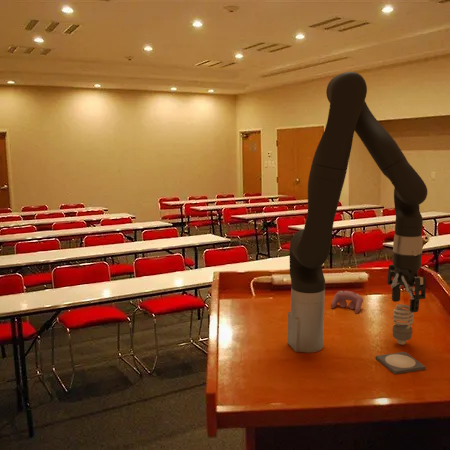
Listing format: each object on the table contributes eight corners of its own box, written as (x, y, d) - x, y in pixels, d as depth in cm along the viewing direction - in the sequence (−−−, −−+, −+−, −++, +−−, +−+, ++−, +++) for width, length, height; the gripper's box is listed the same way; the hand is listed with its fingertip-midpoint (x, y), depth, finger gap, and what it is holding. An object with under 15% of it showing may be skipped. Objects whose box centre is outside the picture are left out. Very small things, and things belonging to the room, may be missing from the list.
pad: (394, 374, 135) (394, 371, 135) (375, 358, 143) (375, 355, 143) (425, 369, 137) (425, 366, 137) (405, 354, 146) (405, 351, 145)
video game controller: (361, 315, 177) (365, 294, 179) (357, 313, 174) (362, 292, 175) (333, 309, 183) (337, 289, 184) (329, 307, 179) (333, 287, 180)
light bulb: (415, 344, 151) (418, 304, 149) (406, 351, 147) (409, 310, 145) (396, 338, 155) (399, 299, 153) (387, 345, 151) (389, 305, 149)
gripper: (381, 245, 151) (378, 299, 155) (411, 258, 138) (408, 317, 141) (404, 242, 153) (401, 296, 157) (436, 255, 140) (432, 313, 143)
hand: (404, 306), depth 149 cm, fingers open, 8 cm apart
